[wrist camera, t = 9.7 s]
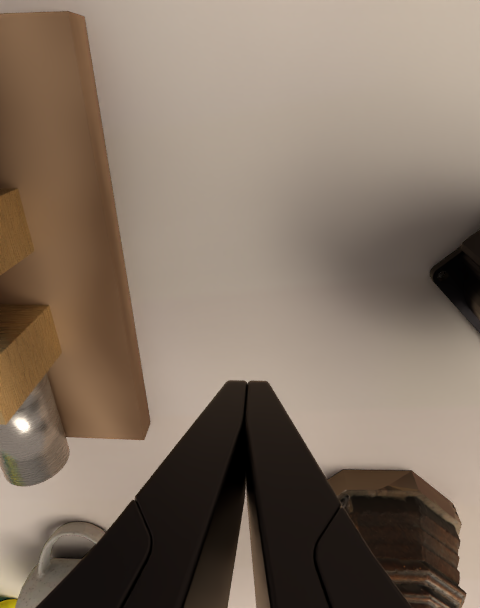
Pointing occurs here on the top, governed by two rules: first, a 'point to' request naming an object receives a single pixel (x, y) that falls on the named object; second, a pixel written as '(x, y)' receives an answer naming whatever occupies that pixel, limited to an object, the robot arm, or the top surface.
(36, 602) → the ceramic mug
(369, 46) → the top surface
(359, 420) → the top surface
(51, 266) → the walnut board
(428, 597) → the bird statue
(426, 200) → the top surface
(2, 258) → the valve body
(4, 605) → the teal lumpy block
